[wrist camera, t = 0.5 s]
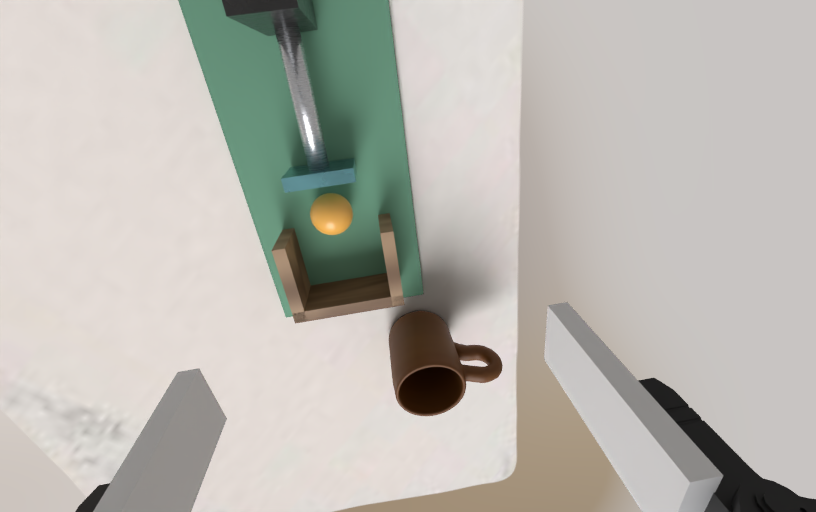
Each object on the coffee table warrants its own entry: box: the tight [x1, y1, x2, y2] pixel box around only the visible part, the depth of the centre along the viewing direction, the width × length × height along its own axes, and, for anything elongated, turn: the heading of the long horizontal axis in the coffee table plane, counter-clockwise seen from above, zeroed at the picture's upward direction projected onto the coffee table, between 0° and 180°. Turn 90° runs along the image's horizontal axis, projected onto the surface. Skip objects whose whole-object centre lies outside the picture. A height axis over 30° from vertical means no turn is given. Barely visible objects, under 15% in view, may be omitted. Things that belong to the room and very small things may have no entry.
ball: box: [310, 193, 353, 235], centre depth 34 cm, size 4×4×4 cm
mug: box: [389, 311, 502, 416], centre depth 41 cm, size 12×8×9 cm, turn 96°
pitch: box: [178, 0, 423, 317], centre depth 34 cm, size 32×16×1 cm, turn 7°
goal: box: [272, 213, 404, 323], centre depth 36 cm, size 8×11×5 cm
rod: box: [222, 0, 357, 193], centre depth 26 cm, size 16×6×10 cm, turn 7°
